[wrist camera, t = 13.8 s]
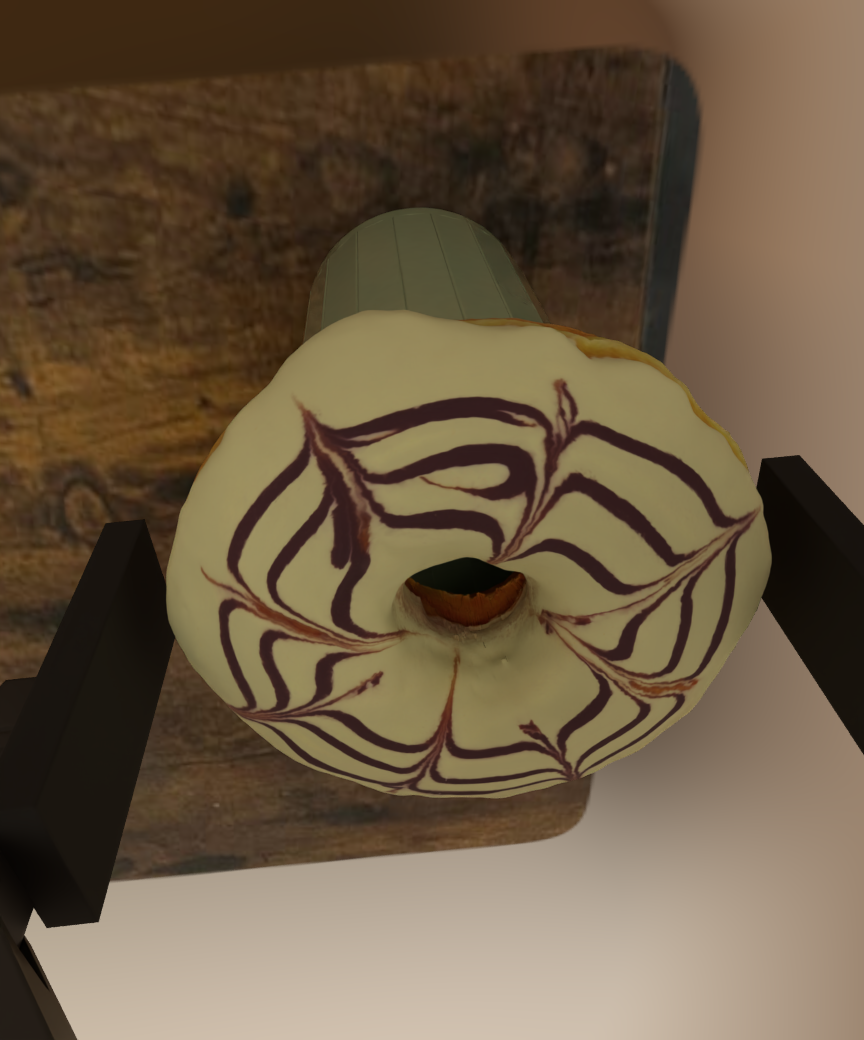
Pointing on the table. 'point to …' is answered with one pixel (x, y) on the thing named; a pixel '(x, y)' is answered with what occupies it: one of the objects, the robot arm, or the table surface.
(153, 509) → the table surface
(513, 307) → the cup
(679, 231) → the table surface
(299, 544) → the decorated donut
